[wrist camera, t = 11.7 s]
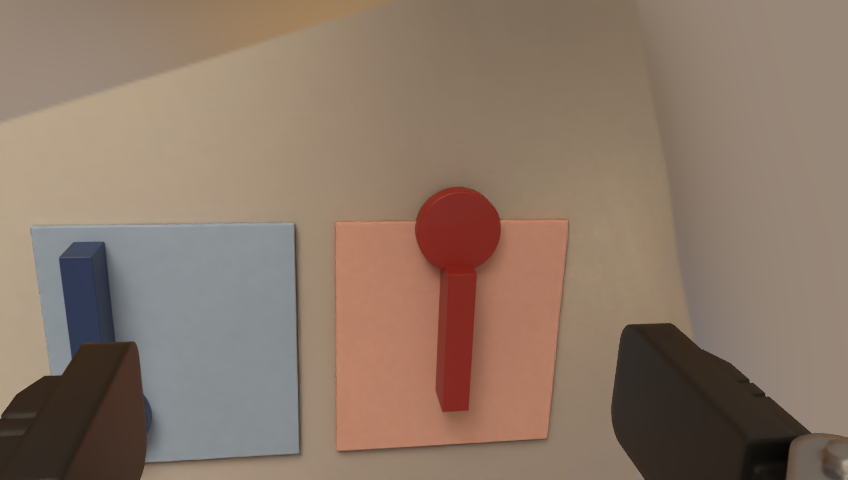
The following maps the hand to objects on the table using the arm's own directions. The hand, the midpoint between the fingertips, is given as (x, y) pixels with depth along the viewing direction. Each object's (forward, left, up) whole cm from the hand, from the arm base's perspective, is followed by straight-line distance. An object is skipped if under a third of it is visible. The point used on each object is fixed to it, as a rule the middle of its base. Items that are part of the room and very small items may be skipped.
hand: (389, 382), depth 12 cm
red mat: (+11, +6, -24) cm, 27 cm away
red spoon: (+8, +6, -24) cm, 26 cm away
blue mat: (+11, -8, -24) cm, 28 cm away
